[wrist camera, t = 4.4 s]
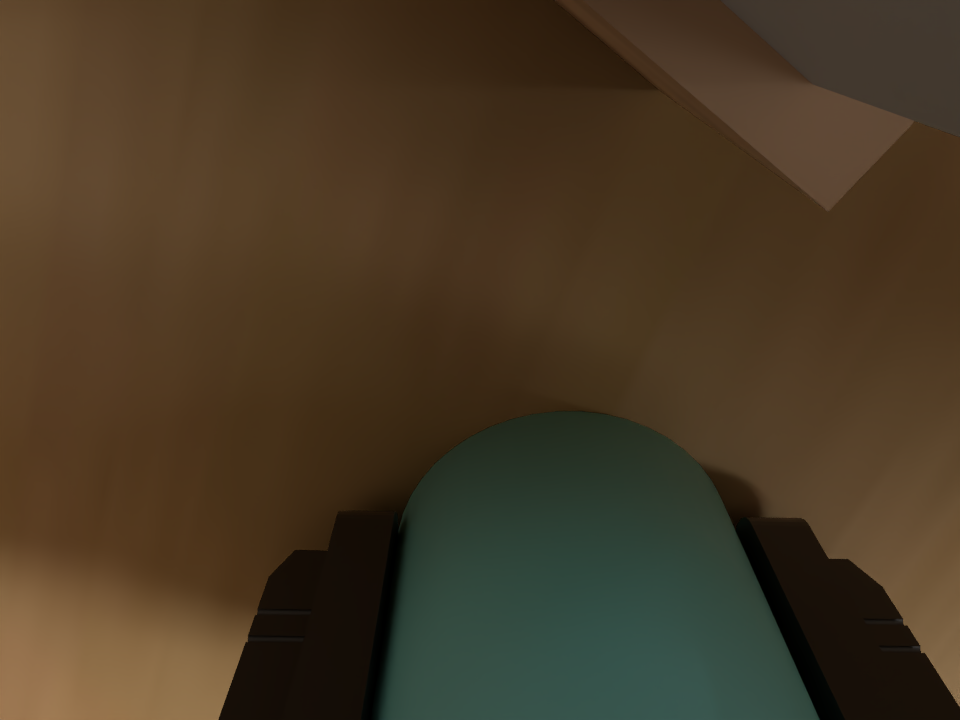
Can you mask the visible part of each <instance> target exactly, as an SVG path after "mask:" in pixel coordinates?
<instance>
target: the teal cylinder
mask: <svg viewBox="0 0 960 720" xmlns="http://www.w3.org/2000/svg"><path fill="white" fill-rule="evenodd" d="M371 720H820V719H819V717H818V715H817V712H816V710H815V708H814V706H813V703H812V701H811V699H810V697H809V694H808V692H807V690H806V688H805V685H804V683H803V681H802V679H801V676H800V674H799V672H798V670H797V667H796V665H795V663H794V661H793V658H792V656H791V654H790V652H789V649H788V647H787V645H786V643H785V640H784V638H783V636H782V634H781V632H780V629H779V627H778V625H777V623H776V620H775V618H774V616H773V614H772V611H771V609H770V607H769V605H768V602H767V600H766V598H765V596H764V593H763V591H762V589H761V587H760V584H759V582H758V580H757V578H756V575H755V573H754V571H753V569H752V566H751V564H750V562H749V560H748V557H747V555H746V553H745V551H744V548H743V546H742V544H741V542H740V540H739V537H738V535H737V533H736V531H735V528H734V526H733V524H732V522H731V519H730V517H729V515H728V513H727V510H726V508H725V506H724V504H723V501H722V499H721V497H720V495H719V493H718V491H717V489H716V488H715V486H714V484H713V482H712V480H711V479H710V478H709V476H708V475H707V474H706V472H705V471H704V470H703V468H702V467H701V466H700V465H699V463H697V462H696V461H695V460H694V459H693V458H692V457H691V456H690V455H689V454H688V453H687V452H686V451H685V450H684V449H682V448H681V447H680V446H678V445H677V444H675V443H674V442H673V441H671V440H670V439H668V438H667V437H665V436H663V435H661V434H659V433H658V432H656V431H654V430H652V429H650V428H648V427H645V426H643V425H640V424H638V423H635V422H632V421H630V420H627V419H623V418H619V417H614V416H610V415H606V414H599V413H591V412H583V411H556V412H547V413H539V414H532V415H528V416H524V417H519V418H515V419H511V420H508V421H505V422H503V423H500V424H497V425H494V426H491V427H489V428H487V429H485V430H483V431H481V432H479V433H477V434H475V435H473V436H471V437H469V438H468V439H466V440H465V441H463V442H462V443H460V444H459V445H457V446H456V447H454V448H453V449H451V450H450V451H449V452H448V453H447V454H445V455H444V456H443V457H442V458H441V459H440V460H439V461H437V462H436V463H435V464H434V465H433V467H432V468H431V469H430V470H429V471H428V472H427V473H426V475H425V476H424V477H423V478H422V479H421V481H420V482H419V484H418V485H417V487H416V489H415V490H414V492H413V493H412V495H411V497H410V499H409V501H408V503H407V505H406V508H405V510H404V512H403V515H402V519H401V523H400V526H399V530H398V542H397V548H396V555H395V562H394V568H393V575H392V582H391V588H390V595H389V601H388V608H387V615H386V621H385V628H384V635H383V641H382V648H381V654H380V661H379V668H378V674H377V681H376V688H375V694H374V701H373V707H372V714H371Z"/></svg>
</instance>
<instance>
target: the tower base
mask: <svg viewBox="0 0 960 720" xmlns="http://www.w3.org/2000/svg"><path fill="white" fill-rule="evenodd" d="M554 1H555V2H557V3H558V4H559V5H560V6H561V7H562V8H564V9H565V10H566V11H567V12H568V13H569V14H571V15H572V16H573V17H574V18H575V19H576V20H578V21H579V22H580V23H581V24H582V25H583V26H585V27H586V28H587V29H588V30H589V31H591V32H592V33H593V34H594V35H595V36H596V37H598V38H599V39H600V40H601V41H602V42H603V43H605V44H606V45H607V46H608V47H609V48H610V49H612V50H613V51H614V52H615V53H616V54H617V55H619V56H620V57H621V58H622V59H623V60H625V61H626V62H627V63H628V64H629V65H630V66H632V67H633V68H634V69H635V70H636V71H637V72H639V73H640V74H641V75H642V76H643V77H644V78H646V79H647V80H648V81H649V82H650V83H651V84H653V85H654V86H655V87H656V88H657V89H659V90H660V91H661V92H663V93H664V94H665V95H667V96H668V97H670V98H671V99H672V100H674V101H675V102H676V103H678V104H679V105H681V106H682V107H683V108H685V109H686V110H688V111H689V112H690V113H692V114H693V115H694V116H696V117H697V118H699V119H700V120H701V121H703V122H704V123H706V124H707V125H708V126H710V127H711V128H713V129H714V130H715V131H717V132H718V133H719V134H721V135H722V136H724V137H725V138H726V139H728V140H729V141H731V142H732V143H733V144H735V145H736V146H738V147H739V148H740V149H742V150H743V151H744V152H746V153H747V154H749V155H750V156H751V157H753V158H754V159H756V160H757V161H758V162H760V163H761V164H762V165H764V166H765V167H767V168H768V169H769V170H771V171H772V172H774V173H775V174H776V175H778V176H779V177H781V178H782V179H783V180H785V181H786V182H787V183H789V184H790V185H792V186H793V187H794V188H796V189H797V190H799V191H800V192H801V193H803V194H804V195H805V196H807V197H808V198H810V199H811V200H812V201H814V202H815V203H817V204H818V205H819V206H821V207H822V208H824V209H825V210H826V211H828V212H829V211H830V210H831V208H832V207H833V206H834V205H835V204H836V203H837V202H838V201H839V200H840V199H841V198H842V197H843V196H844V195H845V194H846V193H847V192H848V191H849V190H850V189H851V188H852V187H853V185H854V184H855V183H856V182H857V181H858V180H859V179H860V178H861V177H862V176H863V175H864V174H865V173H866V172H867V171H868V170H869V169H870V168H871V167H872V166H873V165H874V164H875V163H876V161H877V160H878V159H879V158H880V157H881V156H882V155H883V154H884V153H885V152H886V151H887V150H888V149H889V148H890V147H891V146H892V145H893V144H894V143H895V142H896V141H897V140H898V138H899V137H900V136H901V135H902V134H903V133H904V132H905V131H906V130H907V129H908V128H909V127H910V126H911V125H912V124H913V123H914V122H915V121H913V120H911V119H908V118H905V117H902V116H899V115H897V114H894V113H891V112H888V111H886V110H883V109H880V108H877V107H874V106H872V105H869V104H866V103H863V102H861V101H858V100H855V99H852V98H849V97H847V96H844V95H841V94H838V93H836V92H833V91H830V90H827V89H824V88H822V87H819V86H816V85H813V84H812V83H811V82H809V81H808V80H807V79H806V78H805V77H804V76H803V75H802V74H801V73H800V72H799V71H797V70H796V69H795V68H794V67H793V66H792V65H791V64H790V63H789V62H788V61H786V60H785V59H784V58H783V57H782V56H781V55H780V54H779V53H778V52H777V51H775V50H774V49H773V48H772V47H771V46H770V45H769V44H768V43H767V42H766V41H764V40H763V39H762V38H761V37H760V36H759V35H758V34H757V33H756V32H755V31H753V30H752V29H751V28H750V27H749V26H748V25H747V24H746V23H745V22H744V21H743V20H741V19H740V18H739V17H738V16H737V15H736V14H735V13H734V12H733V11H732V10H730V9H729V8H728V7H727V6H726V5H725V4H724V3H723V2H722V1H721V0H554Z"/></svg>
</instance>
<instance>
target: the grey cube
mask: <svg viewBox="0 0 960 720" xmlns="http://www.w3.org/2000/svg"><path fill="white" fill-rule="evenodd" d="M721 1H722V2H723V3H724V4H725V5H726V6H727V7H728V8H729V9H730V10H732V11H733V12H734V13H735V14H736V15H737V16H738V17H739V18H740V19H741V20H743V21H744V22H745V23H746V24H747V25H748V26H749V27H750V28H751V29H752V30H753V31H755V32H756V33H757V34H758V35H759V36H760V37H761V38H762V39H763V40H764V41H766V42H767V43H768V44H769V45H770V46H771V47H772V48H773V49H774V50H775V51H777V52H778V53H779V54H780V55H781V56H782V57H783V58H784V59H785V60H786V61H788V62H789V63H790V64H791V65H792V66H793V67H794V68H795V69H796V70H797V71H799V72H800V73H801V74H802V75H803V76H804V77H805V78H806V79H807V80H808V81H809V82H811V83H812V84H813V85H816V86H819V87H822V88H824V89H827V90H830V91H833V92H836V93H838V94H841V95H844V96H847V97H849V98H852V99H855V100H858V101H861V102H863V103H866V104H869V105H872V106H874V107H877V108H880V109H883V110H886V111H888V112H891V113H894V114H897V115H899V116H902V117H905V118H908V119H911V120H913V121H916V122H919V123H922V124H924V125H927V126H930V127H933V128H936V129H938V130H941V131H944V132H947V133H949V134H952V135H955V136H958V137H960V0H721Z"/></svg>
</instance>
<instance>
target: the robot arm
mask: <svg viewBox="0 0 960 720" xmlns="http://www.w3.org/2000/svg"><path fill="white" fill-rule="evenodd" d="M736 533H737V535H738V537H739V540H740V542H741V544H742V546H743V548H744V551H745V553H746V555H747V557H748V560H749V562H750V564H751V566H752V569H753V571H754V573H755V575H756V578H757V580H758V582H759V584H760V587H761V589H762V591H763V593H764V596H765V598H766V600H767V602H768V605H769V607H770V609H771V611H772V614H773V616H774V618H775V620H776V623H777V625H778V627H779V629H780V632H781V634H782V636H783V638H784V640H785V643H786V645H787V647H788V649H789V652H790V654H791V656H792V658H793V661H794V663H795V665H796V667H797V670H798V672H799V674H800V676H801V679H802V681H803V683H804V685H805V688H806V690H807V692H808V694H809V697H810V699H811V701H812V703H813V706H814V708H815V710H816V712H817V715H818V717H819V719H820V720H960V707H959V706H958V704H957V703H956V701H955V699H954V698H953V696H952V695H951V693H950V692H949V690H948V688H947V687H946V685H945V684H944V682H943V681H942V679H941V678H940V676H939V674H938V673H937V671H936V670H935V668H934V667H933V665H932V664H931V662H930V660H929V659H928V657H927V656H926V654H925V653H921V651H920V645H919V643H918V642H917V640H916V639H915V637H914V635H913V634H912V632H911V631H910V629H909V628H908V626H904V625H903V618H902V617H901V615H900V614H899V612H898V610H897V609H896V607H895V606H894V604H893V603H892V601H891V600H890V598H889V596H888V595H887V593H886V592H885V590H884V589H883V587H882V586H881V585H879V584H878V583H877V582H876V581H874V580H873V579H872V578H871V577H870V576H868V575H867V574H866V573H865V572H863V571H862V570H861V569H860V568H858V567H857V566H856V565H855V564H853V563H852V562H851V561H850V560H849V559H828V557H827V556H826V554H825V552H824V550H823V549H822V547H821V545H820V543H819V542H818V540H817V538H816V537H815V535H814V533H813V531H812V530H811V528H810V526H809V525H808V523H807V522H806V521H805V520H804V519H802V518H750V517H743V518H741V520H740V521H739V523H738V525H737V528H736ZM397 542H398V517H397V512H396V511H339V512H338V514H337V517H336V521H335V524H334V528H333V532H332V536H331V539H330V543H329V547H328V551H320V550H295V551H294V552H293V553H292V554H291V555H290V556H289V557H288V558H287V559H286V560H285V561H284V562H283V563H282V564H281V565H280V566H279V567H278V568H277V569H276V570H275V571H274V572H273V573H272V574H271V575H270V576H269V578H268V581H267V583H266V586H265V589H264V592H263V595H262V598H261V600H260V603H259V606H258V613H257V615H255V617H254V620H253V623H252V626H251V629H250V632H249V634H248V642H246V643H245V646H244V649H243V651H242V654H241V657H240V660H239V663H238V666H237V669H236V671H235V674H234V677H233V680H232V683H231V686H230V688H229V691H228V694H227V697H226V700H225V703H224V705H223V708H222V711H221V714H220V717H219V720H371V714H372V707H373V701H374V694H375V688H376V681H377V674H378V668H379V661H380V654H381V648H382V641H383V635H384V628H385V621H386V615H387V608H388V601H389V595H390V588H391V582H392V575H393V568H394V562H395V555H396V548H397Z"/></svg>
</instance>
